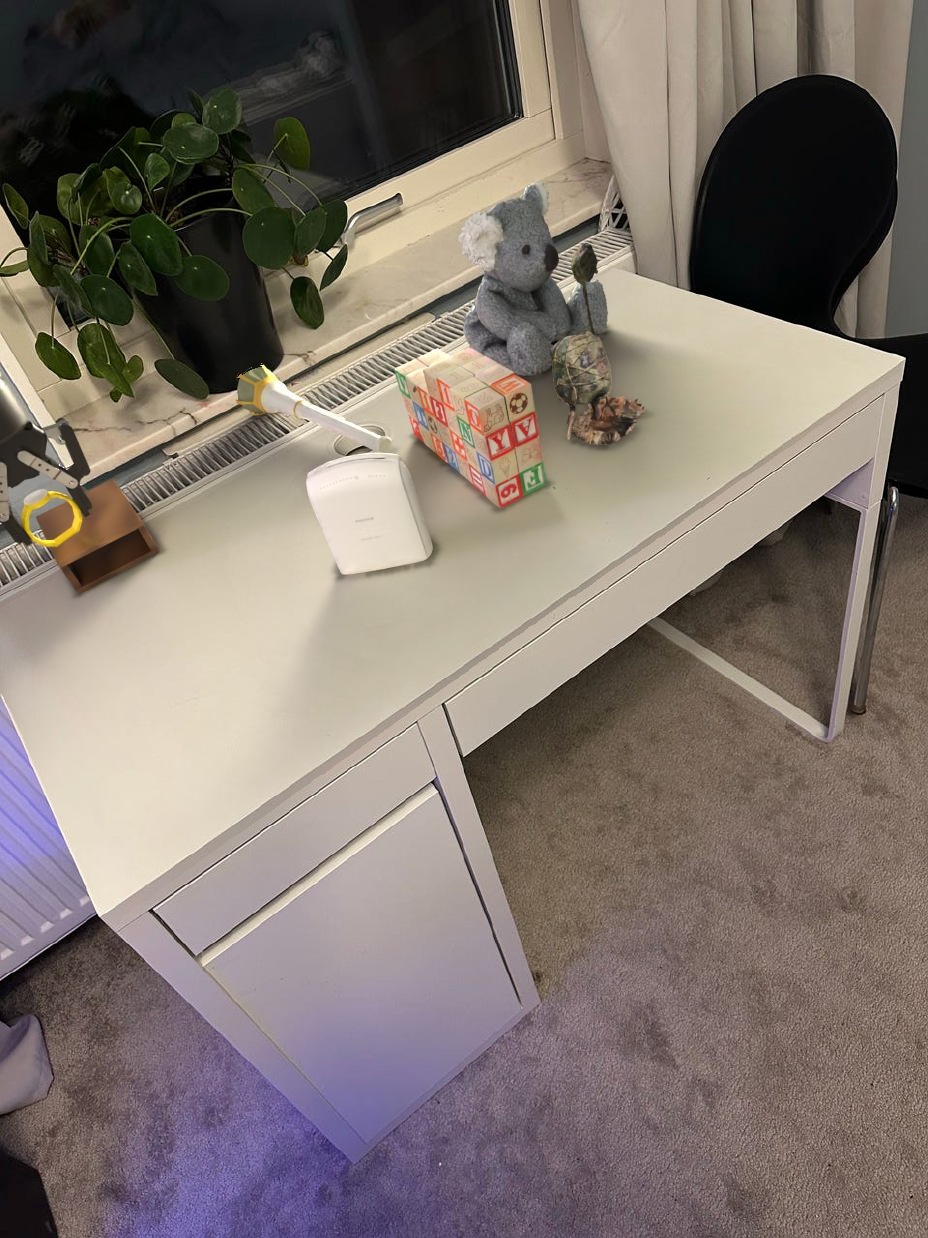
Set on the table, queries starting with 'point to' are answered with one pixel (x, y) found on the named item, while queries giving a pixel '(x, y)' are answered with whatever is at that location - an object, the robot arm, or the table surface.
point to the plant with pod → (590, 374)
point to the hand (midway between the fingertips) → (57, 527)
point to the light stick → (299, 408)
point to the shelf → (110, 560)
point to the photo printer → (369, 512)
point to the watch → (38, 500)
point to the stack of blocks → (476, 420)
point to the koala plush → (522, 286)
